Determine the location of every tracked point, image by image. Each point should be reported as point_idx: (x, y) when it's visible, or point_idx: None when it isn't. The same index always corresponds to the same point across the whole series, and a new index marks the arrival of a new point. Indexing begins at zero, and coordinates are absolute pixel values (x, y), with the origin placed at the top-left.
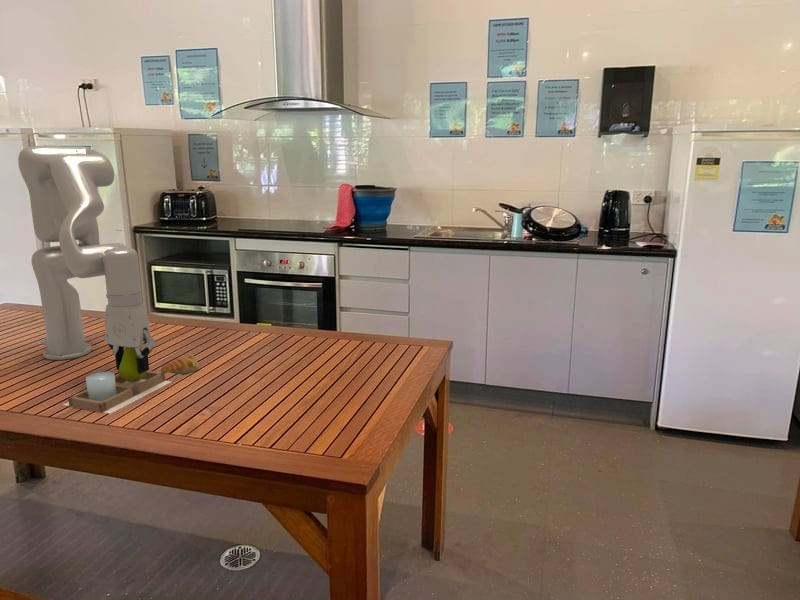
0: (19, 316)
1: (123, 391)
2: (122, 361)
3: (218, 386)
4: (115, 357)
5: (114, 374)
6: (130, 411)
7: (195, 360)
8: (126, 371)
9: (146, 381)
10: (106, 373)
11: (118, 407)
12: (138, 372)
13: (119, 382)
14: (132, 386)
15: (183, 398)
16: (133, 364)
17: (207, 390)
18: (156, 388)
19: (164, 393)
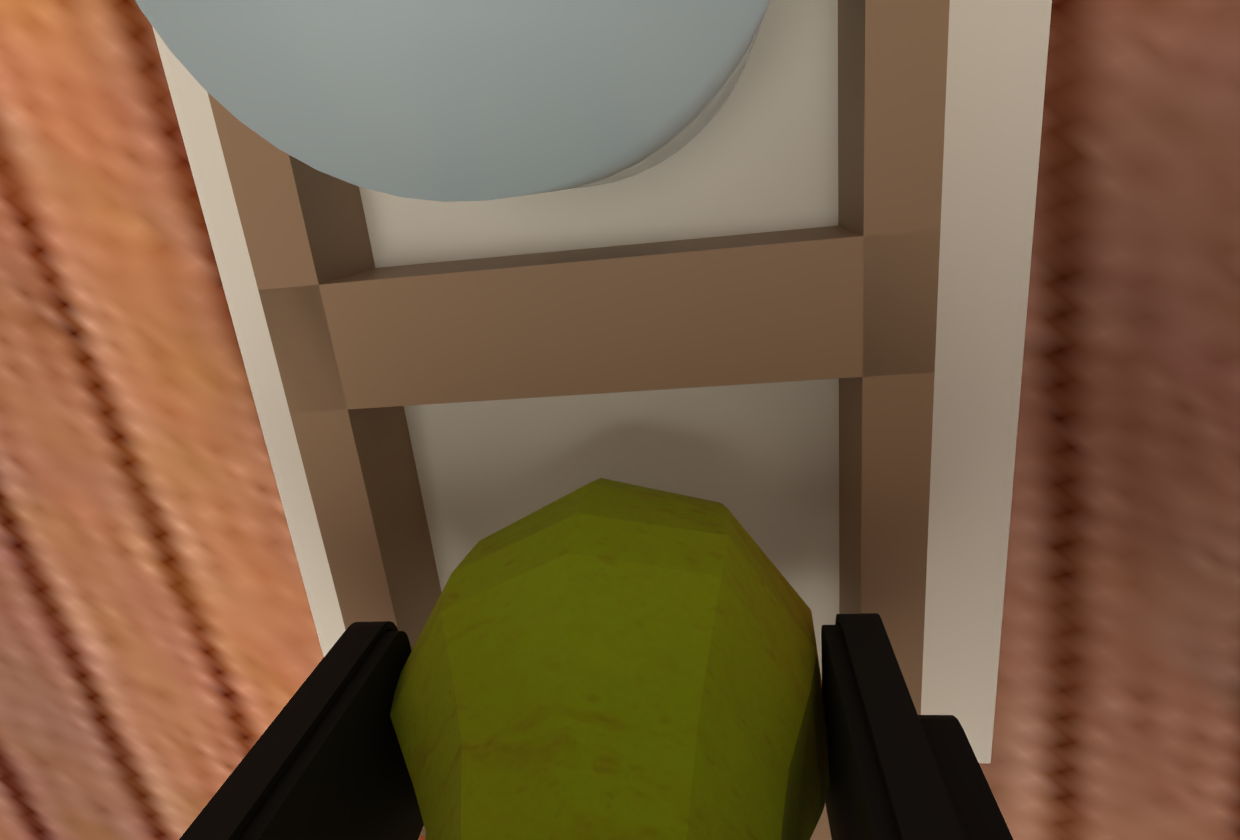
0: None
1: (278, 156)
2: (646, 723)
3: (38, 828)
4: (946, 817)
5: (232, 113)
6: (132, 29)
7: None
8: (522, 551)
9: (349, 573)
10: (488, 71)
11: None
12: (376, 624)
13: (842, 518)
14: (348, 367)
15: (23, 538)
16: (431, 730)
17: (29, 741)
18: (324, 571)
19: (280, 563)
